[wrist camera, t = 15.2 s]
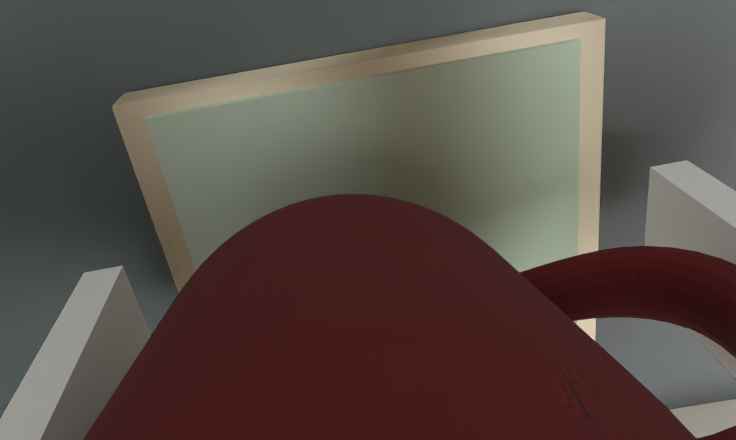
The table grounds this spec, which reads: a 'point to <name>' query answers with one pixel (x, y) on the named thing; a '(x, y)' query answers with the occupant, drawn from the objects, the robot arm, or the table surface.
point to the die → (707, 417)
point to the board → (388, 140)
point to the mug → (407, 335)
